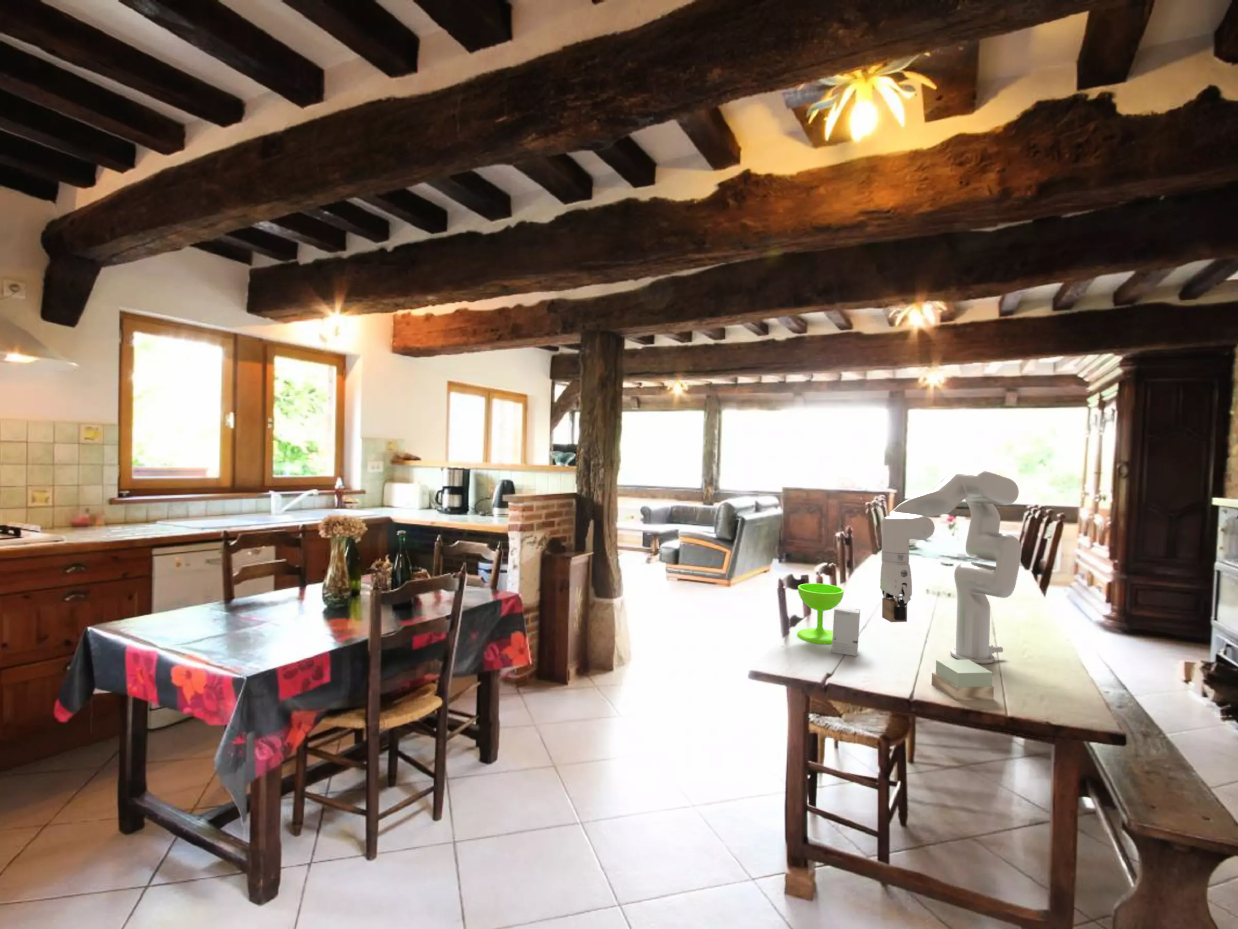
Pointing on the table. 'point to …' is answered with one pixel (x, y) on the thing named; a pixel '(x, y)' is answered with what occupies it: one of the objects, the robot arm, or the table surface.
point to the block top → (964, 673)
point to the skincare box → (845, 630)
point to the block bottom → (962, 690)
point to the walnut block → (890, 610)
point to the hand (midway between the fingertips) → (894, 616)
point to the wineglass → (819, 609)
